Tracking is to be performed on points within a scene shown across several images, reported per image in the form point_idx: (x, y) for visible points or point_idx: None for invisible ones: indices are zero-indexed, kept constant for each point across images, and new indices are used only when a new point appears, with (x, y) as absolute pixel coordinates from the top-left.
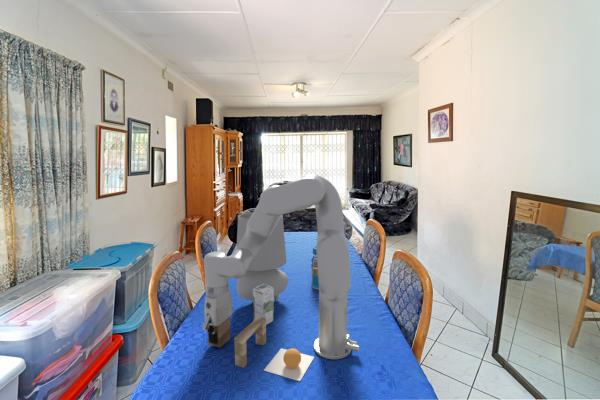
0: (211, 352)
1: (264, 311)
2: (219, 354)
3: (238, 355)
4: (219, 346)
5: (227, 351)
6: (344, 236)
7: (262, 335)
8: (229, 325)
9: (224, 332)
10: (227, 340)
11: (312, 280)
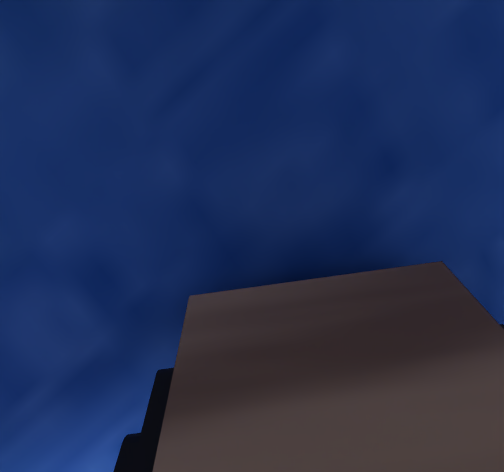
0: (492, 304)
1: None
2: (491, 196)
3: None
4: (451, 275)
5: (393, 151)
6: None
7: None
8: (169, 469)
9: (361, 394)
10: (261, 289)
11: None
